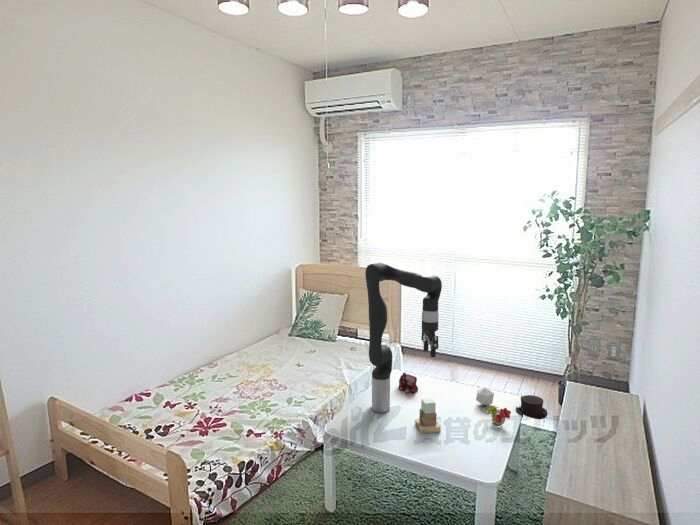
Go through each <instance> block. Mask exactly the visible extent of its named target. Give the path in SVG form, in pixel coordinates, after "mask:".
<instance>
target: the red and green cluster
mask: <svg viewBox="0 0 700 525" xmlns="http://www.w3.org/2000/svg"><path fill="white" fill-rule="evenodd" d="M486 412H487V413H486V415H489V414H490V413H491V421H492V422H493V423H494V424H496V425H497V426H502V425H504V424H505V422H506V419H510V418H511V414H512V411H511V410H508V409H507V407H504V408H500V409H499V406H496V405H490V407H488V408H486Z"/></svg>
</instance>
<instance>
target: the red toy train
mask: <svg viewBox="0 0 700 525" xmlns="http://www.w3.org/2000/svg"><path fill="white" fill-rule="evenodd" d="M417 381H418V378H417V376H414V375H411V374H409V373H406V372H403V373H402V374H401V375H400V377H399V379H398V387H397V388H398V390H399V391H401V392H404V393H406V394H407V395H411V394H412V393H416V392H418V391H419V387H418V385H417Z"/></svg>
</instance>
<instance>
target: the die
mask: <svg viewBox="0 0 700 525" xmlns="http://www.w3.org/2000/svg"><path fill="white" fill-rule="evenodd" d="M494 397H495V393H494V392H493V391H491V390H490V389H489V388H487V387H483V388H479V389H477V392H476V397H475V401H477V402H478V403H479V404H480V405H483V406H484V405H486V406H489V405H492V404H493V401H494Z"/></svg>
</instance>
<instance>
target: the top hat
mask: <svg viewBox="0 0 700 525" xmlns="http://www.w3.org/2000/svg"><path fill="white" fill-rule="evenodd" d="M520 395H521V396H520V405H519V407H518V406H516V407H515V411H516V412H517V413H518V414H521V415H522V416H525V417H527V418H530V419H535V420H543V419H546V418H547V416H548V411H547V409H546V408H544V399H543V398H541V397H540V396H538V395H532V394H526V395H522V393H520Z"/></svg>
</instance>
